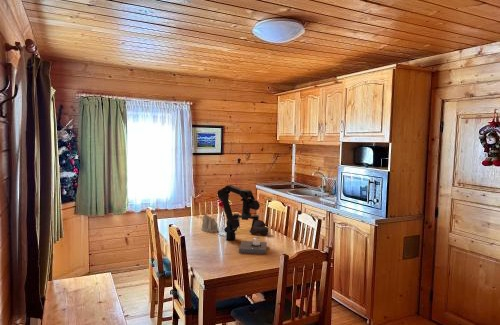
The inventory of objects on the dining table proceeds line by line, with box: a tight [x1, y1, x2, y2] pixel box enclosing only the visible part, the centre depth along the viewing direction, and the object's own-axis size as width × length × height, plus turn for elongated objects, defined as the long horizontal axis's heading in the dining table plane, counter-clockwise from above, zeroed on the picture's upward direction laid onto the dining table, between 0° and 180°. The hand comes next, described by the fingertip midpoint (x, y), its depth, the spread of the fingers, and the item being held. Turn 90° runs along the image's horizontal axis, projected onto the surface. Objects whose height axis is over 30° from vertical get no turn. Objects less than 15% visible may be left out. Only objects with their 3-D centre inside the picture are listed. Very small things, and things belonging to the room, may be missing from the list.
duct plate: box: [238, 240, 268, 255], centre depth 243 cm, size 18×18×3 cm
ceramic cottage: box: [201, 212, 219, 233], centre depth 292 cm, size 16×16×15 cm
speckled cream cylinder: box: [252, 237, 261, 247], centre depth 242 cm, size 5×5×8 cm
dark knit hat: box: [249, 219, 269, 236], centre depth 284 cm, size 10×15×15 cm
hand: (245, 228), depth 254 cm, fingers open, 9 cm apart
